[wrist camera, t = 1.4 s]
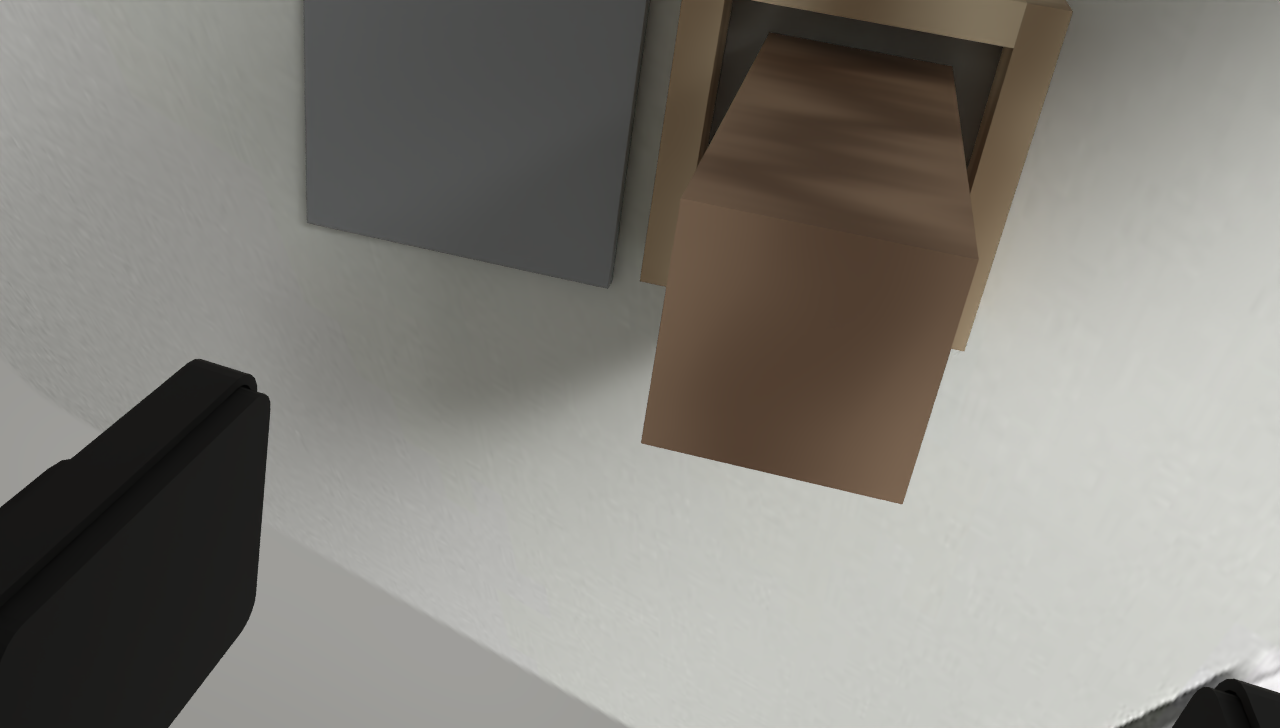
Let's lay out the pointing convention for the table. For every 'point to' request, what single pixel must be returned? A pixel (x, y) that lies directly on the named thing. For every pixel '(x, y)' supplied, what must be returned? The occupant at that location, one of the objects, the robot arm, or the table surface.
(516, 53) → the mat
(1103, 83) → the table surface
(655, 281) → the pocket
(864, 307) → the walnut block
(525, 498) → the table surface
